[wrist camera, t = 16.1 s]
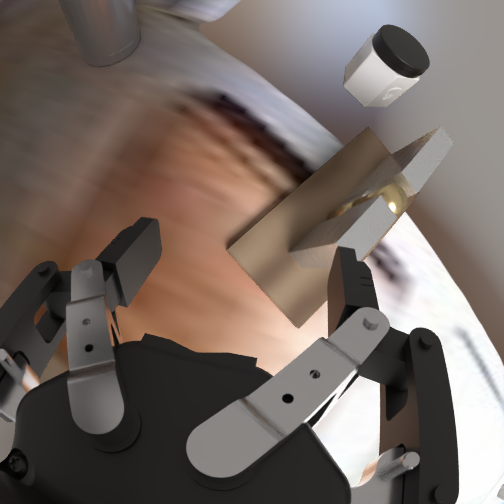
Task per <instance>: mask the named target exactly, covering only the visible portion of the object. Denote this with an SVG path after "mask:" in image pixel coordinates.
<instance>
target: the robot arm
mask: <svg viewBox="0 0 504 504" xmlns="http://www.w3.org/2000/svg"><path fill="white" fill-rule="evenodd" d="M59 2H60V4H61V7H62V9H63V12H64V14H65V17H66V19H67V21H68V24H69V26H70V28H71V31H72V33H73V35H74V38H75V40H76V42H77V45H78V47H79V49H80V52H81V54H82V56H83V58H84V60H85V61H86V63H88V64H90V65H93V66H107V65H111V64H114V63H116V62H119V61H121V60H122V59H124V58H126V57H127V56H129V55H130V54H131V53H132V52H133V51H134V50H135V49H136V48H137V46H138V44H139V42H140V32H139V26H138V20H137V13H136V7H135V1H134V0H59ZM161 252H162V246H161V238H160V229H159V222H158V220H157V219H154V218H146V217H141V218H140V219H139V220H138V221H137V222H136V223H135V224H134V225H133V226H130V227H128V228H126V229H124V230H122V231H121V232H120V233H119V234H118V235H117V236H116V237H115V239H113V241H112V242H111V244H109V245H108V246H107V247H106V248H105V249H104V250H103V251H102V252H101V253H100V255H99V256H98V257H97V258H96V259H95V260H92V259H91V260H85V261H82V262H80V263H78V264H77V265H76V266H75V267H74V268H73V270H72V271H59V269H58V266H57V264H56V263H55V262H53V261H46V262H43V263H40V264H39V265H37V266H36V267H35V268H34V269H33V270H32V271H31V272H30V273H29V274H28V276H27V277H26V278H25V279H24V280H23V281H22V283H21V284H20V285H19V286H18V287H17V289H16V290H15V291H14V292H13V293H12V295H11V296H10V297H9V298H8V300H7V301H6V302H5V303H4V305H3V306H2V307H1V309H0V417H1V418H3V419H4V420H5V421H7V422H15V435H14V441H13V446H12V449H11V452H10V453H9V455H8V456H7V458H6V459H5V460H3V461H2V462H1V463H0V504H455V503H456V501H457V498H458V494H459V465H458V447H457V435H456V425H455V417H454V409H453V402H452V396H451V389H450V384H449V378H448V373H447V368H446V363H445V358H444V354H443V349H442V345H441V342H440V340H439V338H438V336H437V335H436V334H435V333H434V332H432V331H431V330H429V329H426V328H415V329H413V330H412V331H411V333H410V334H406V333H404V332H401V331H398V330H396V329H394V328H392V327H390V324H389V321H388V319H387V317H386V316H385V315H384V314H383V313H382V312H381V311H379V306H378V301H377V297H376V292H375V287H374V283H373V280H372V279H373V278H372V274H371V270H370V269H369V267H368V266H367V265H366V263H365V262H361V261H357V257H356V252H355V249H353V248H347V247H341V246H337V248H336V252H335V255H334V259H333V263H332V266H331V270H330V273H329V277H328V284H327V297H328V338H327V339H325V338H324V337H321V338H319V339H318V340H317V341H315V342H314V343H313V344H312V345H311V346H310V347H309V348H307V349H306V350H305V351H304V352H303V353H302V354H300V355H299V356H298V357H297V358H296V359H294V360H293V361H292V362H291V363H290V364H288V365H287V366H286V367H285V368H283V369H282V370H281V371H280V372H278V373H277V374H276V375H275V376H272V375H271V374H270V373H268V372H266V371H265V370H263V369H261V368H259V367H256V363H257V358H254V357H249V356H243V355H238V354H233V353H198V352H194V351H192V350H190V349H188V348H186V347H184V346H182V345H180V344H178V343H176V342H174V341H172V340H170V339H166V338H162V337H158V336H154V335H150V334H147V333H145V334H144V336H143V338H142V340H141V341H130V342H125V343H123V340H122V335H121V331H120V326H119V321H118V317H117V312H116V307H117V306H118V305H120V306H124V307H128V306H129V305H130V303H131V301H132V300H133V298H134V297H135V295H136V294H137V292H138V291H139V289H140V288H141V286H142V285H143V283H144V282H145V280H146V279H147V277H148V276H149V274H150V273H151V271H152V270H153V268H154V267H155V265H156V264H157V262H158V261H159V259H160V256H161ZM42 304H44V306H45V308H46V310H47V311H46V312H45V314H44V315H43V316H42V318H41V319H40V321H39V322H38V324H37V325H36V326H35V324H34V316H35V313H36V312H37V311H38V309H39V308H40V306H41V305H42ZM66 332H67V346H68V359H69V370H68V371H66V372H64V373H62V374H60V375H58V376H56V377H54V378H52V379H50V380H48V381H46V382H44V383H42V384H40V385H39V378H40V377H41V375H42V373H43V371H44V369H45V367H46V366H47V364H48V362H49V360H50V359H51V357H52V355H53V353H54V352H55V350H56V348H57V347H58V345H59V343H60V342H61V340H62V338H63V337H64V335H65V333H66ZM360 376H362V377H365V378H367V379H370V380H372V381H375V382H378V383H380V447H379V456H378V457H377V458H375V459H374V460H372V461H371V462H370V463H368V465H367V466H366V467H365V469H364V471H363V474H362V478H361V480H360V482H359V483H358V485H357V486H356V487H354V488H350V484H349V482H348V480H347V478H346V476H345V474H344V473H343V472H342V470H341V469H340V468H339V466H338V465H337V463H336V462H335V461H334V459H333V458H332V456H331V455H330V454H329V452H328V451H327V449H326V448H325V447H324V445H323V444H322V442H321V441H320V439H319V438H318V436H317V435H316V434H315V432H314V431H313V428H314V427H315V426H316V425H317V424H318V423H319V422H320V421H321V420H322V419H323V418H324V417H325V416H326V415H327V414H328V412H329V411H330V410H331V409H332V408H333V406H334V405H335V404H336V403H337V402H338V401H339V400H340V399H341V398H342V397H343V395H344V394H345V393H346V392H347V391H348V390H349V389H350V388H351V386H352V385H353V384H354V383H355V382H356V381H357V379H358V378H359V377H360Z"/></svg>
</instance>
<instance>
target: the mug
mask: <svg viewBox="0 0 504 504" xmlns="http://www.w3.org/2000/svg"><path fill="white" fill-rule="evenodd" d="M498 497H499V498H501V499H503V500H504V484H503V486H502V487H501V489H500V491H499V492H498Z"/></svg>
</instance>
